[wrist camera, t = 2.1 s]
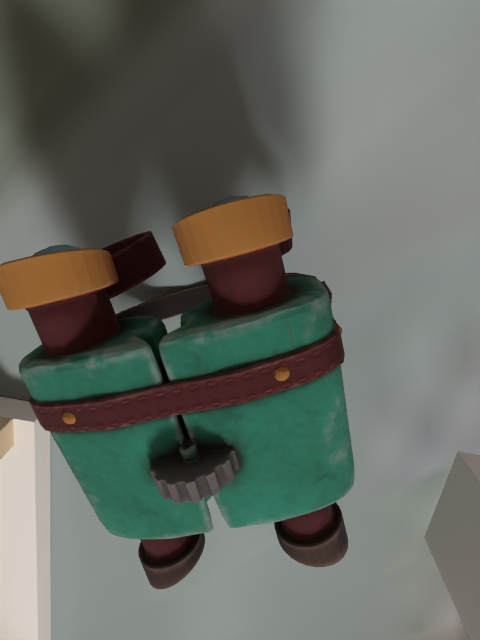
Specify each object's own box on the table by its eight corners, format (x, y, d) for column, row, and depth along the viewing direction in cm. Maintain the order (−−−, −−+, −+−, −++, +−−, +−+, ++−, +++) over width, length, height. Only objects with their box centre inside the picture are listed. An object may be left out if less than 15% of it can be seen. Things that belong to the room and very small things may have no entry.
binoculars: (168, 435, 21) (86, 651, 11) (91, 229, 18) (-111, 294, 8) (346, 401, 20) (418, 612, 10) (298, 172, 16) (340, 171, 7)
